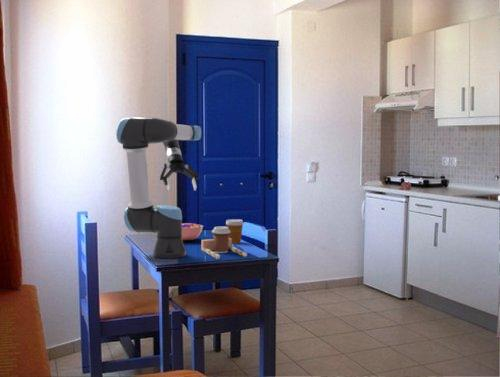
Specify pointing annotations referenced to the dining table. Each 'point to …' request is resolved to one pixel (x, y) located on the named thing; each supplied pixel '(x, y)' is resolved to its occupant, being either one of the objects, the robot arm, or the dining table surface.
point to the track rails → (219, 255)
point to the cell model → (190, 231)
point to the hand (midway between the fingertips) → (182, 189)
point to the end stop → (212, 244)
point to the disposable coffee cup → (235, 230)
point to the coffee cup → (221, 239)
